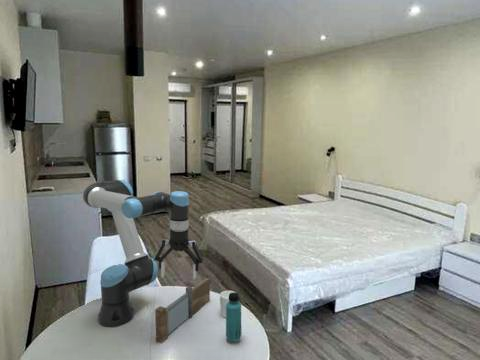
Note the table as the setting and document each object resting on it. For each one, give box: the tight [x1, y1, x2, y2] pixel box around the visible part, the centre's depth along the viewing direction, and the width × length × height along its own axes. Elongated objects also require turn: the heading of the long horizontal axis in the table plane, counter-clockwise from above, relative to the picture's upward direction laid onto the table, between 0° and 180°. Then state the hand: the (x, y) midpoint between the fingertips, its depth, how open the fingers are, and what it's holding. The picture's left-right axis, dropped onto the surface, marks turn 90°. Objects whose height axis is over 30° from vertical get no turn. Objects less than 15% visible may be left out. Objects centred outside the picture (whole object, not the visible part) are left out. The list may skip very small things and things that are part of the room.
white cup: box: [219, 290, 237, 319], centre depth 159 cm, size 8×8×10 cm
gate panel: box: [165, 292, 189, 337], centre depth 147 cm, size 16×2×12 cm, turn 154°
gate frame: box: [154, 277, 211, 344], centre depth 154 cm, size 3×38×14 cm, turn 154°
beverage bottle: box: [225, 292, 242, 342], centre depth 139 cm, size 6×7×20 cm
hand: (178, 276), depth 145 cm, fingers open, 13 cm apart
